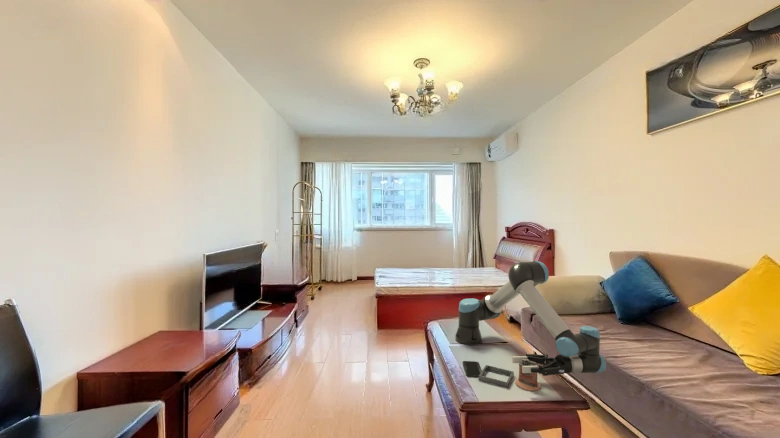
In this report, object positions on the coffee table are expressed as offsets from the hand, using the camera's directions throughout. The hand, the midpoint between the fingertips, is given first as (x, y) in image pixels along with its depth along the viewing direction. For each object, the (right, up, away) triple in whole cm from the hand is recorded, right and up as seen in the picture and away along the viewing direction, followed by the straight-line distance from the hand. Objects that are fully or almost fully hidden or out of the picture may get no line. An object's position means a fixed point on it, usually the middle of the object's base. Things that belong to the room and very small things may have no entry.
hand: (517, 364), depth 144 cm
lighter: (+5, -8, 0) cm, 10 cm away
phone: (-16, -9, +14) cm, 23 cm away
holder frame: (-7, -9, +6) cm, 13 cm away
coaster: (+5, -9, 0) cm, 10 cm away
